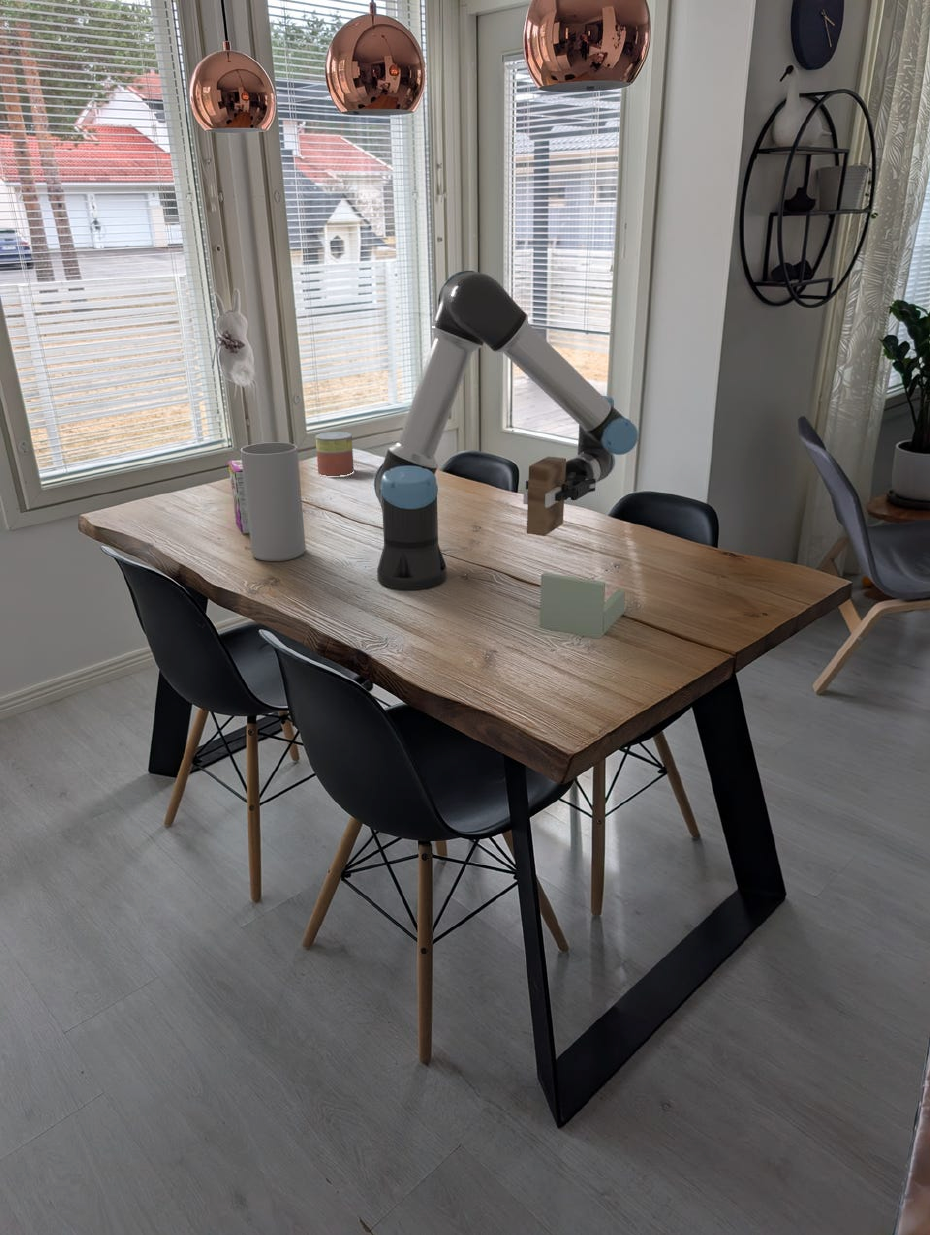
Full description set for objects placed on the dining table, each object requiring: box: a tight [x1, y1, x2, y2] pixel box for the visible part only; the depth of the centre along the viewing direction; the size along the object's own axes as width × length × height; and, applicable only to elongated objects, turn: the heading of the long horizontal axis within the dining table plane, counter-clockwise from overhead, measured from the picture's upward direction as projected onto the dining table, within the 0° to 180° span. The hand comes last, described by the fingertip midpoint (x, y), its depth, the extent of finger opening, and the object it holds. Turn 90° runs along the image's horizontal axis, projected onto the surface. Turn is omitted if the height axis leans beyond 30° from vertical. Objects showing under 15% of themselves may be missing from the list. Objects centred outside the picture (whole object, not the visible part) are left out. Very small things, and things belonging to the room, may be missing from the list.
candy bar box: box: [228, 459, 250, 535], centre depth 229 cm, size 11×5×16 cm, turn 22°
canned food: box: [314, 431, 355, 476], centre depth 282 cm, size 11×11×12 cm
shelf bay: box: [539, 572, 628, 640], centre depth 174 cm, size 16×12×11 cm
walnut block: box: [526, 456, 567, 537], centre depth 187 cm, size 10×4×14 cm, turn 152°
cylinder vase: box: [240, 441, 307, 562], centre depth 209 cm, size 12×12×25 cm
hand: (536, 499), depth 182 cm, fingers closed on walnut block, 4 cm apart
